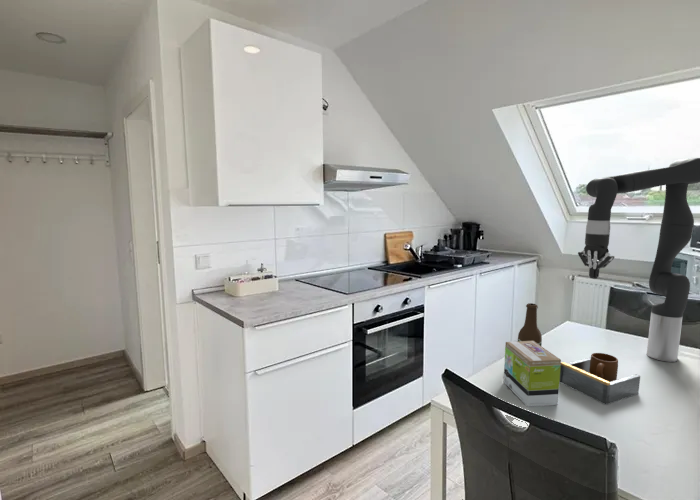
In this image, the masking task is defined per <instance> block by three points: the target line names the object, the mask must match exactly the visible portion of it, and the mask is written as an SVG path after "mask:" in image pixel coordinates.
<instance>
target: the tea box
mask: <svg viewBox="0 0 700 500" xmlns="http://www.w3.org/2000/svg"><path fill="white" fill-rule="evenodd" d="M504 347H505V348H504V369H503V383H504V384H505V385H506V387H508V388H509V389H510V390H511V392H513V393H514V394H515V395H516V397H518V398H519V400H520V401H521V402H522V403H523V404H524V406H526V407H547V406H549V407H550V406H558V403H559V392H560V391H559V390H560V382H559V381H560V368H561V362H562V360H561V359H560V358H559V357H558V356H556V355H554V354H553V353H552V352H551V351H549V350H547V349H546V348H545V347H543V346H542V345H541V346H540V345H539V344H537V343H536V342H534V341H518V340H517V341H505V346H504Z"/></svg>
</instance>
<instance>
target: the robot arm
mask: <svg viewBox="0 0 700 500" xmlns="http://www.w3.org/2000/svg"><path fill="white" fill-rule="evenodd" d="M699 183H700V157H690V158H682V159H676V160H675V161H672V162H671V163H670V164H669V166H666V167H660V168H654V169H653V168H651V169H644V170H636V171H632V172H626V173H622V174H618V175H613V176H605V177H598V178H594V179H591V180H590V181H589V182H588V183H587V184H586V188H585V191H586V193H587V195H589V196H590V197H592V198H595V201H594V203H593V204H591V205H589V207H588V212H587V220H586V221H587V222H586V227H585V238H584V245H585V246H584V248H583V250H581V251H578V253H577V255H578V256H579V258H580V260H581V262H582V263H583V265H584V266H585V267H588V269H589V271H588V272H589V273H588V276H589V278H590V279H594V280H596V279H598V278H599V276H600V269H604V268H606V267H607V266H608V265H609V264H610V263H611V262H612V261H613V260H614V259H615V255H611V254H610V253H609V245H610V237H611V236H610V235H611V216H612V215H611V213H612V208H613V206H614V204H615V200H616V199H617V195H618V194H627V193H633V192H639V191H643V190H648V189H652V188H657V187H663V186H665V198H664V204H663V212H662V217H661V221H660V222H661V224H660V230H659V237H658V243H657V249H656V254H655V258H654V261H653V263H652V264H653V265H652V268H651V271H650V275H649V281H648V287H649V289H650V291H651V292H652V293H653V294H655V295H660V296H663V297H665V299H664V302H662V303H654V304H653V305H652V306H651V310H650V311H651V312H650V318H649V319H650V321H649V329H648V338H647V346H646V356H648V357H649V358H652V359H655V360H658V361H662V362H668V363H674V362H677V361H678V357H679V349H680V342H681V341H680V340H681V332H682V324H683V317H684V312H685V310H686V309H687V305H688V300H689V296H690V295H689V294H690V289H691V284H690V283H691V282H690V279H689V277H687V276H686V275H684V274H681V273H677V272H672V267H673V263H674V260H675V259H676V257H677V256H678V255H679V253H680V252H681V251H683V249H684V248H685V247H686V246H687V245H688V244H689V242H690V241H691V239H692V237H693V231H694V226H695V225H694V224H695V219H694V215H693V212H692V209H691V208H690V206H689V203H688V196H687V195H688V188H689V185H693V184H699Z"/></svg>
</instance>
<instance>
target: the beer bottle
mask: <svg viewBox="0 0 700 500" xmlns="http://www.w3.org/2000/svg"><path fill="white" fill-rule="evenodd" d="M525 308H526V312H525V317H524V324H523V326H522V327H521V328H520V329H519V331H518V335H517V341H534V342H536V343H537V344H539V345H540V346H542V343H543V336H542V333H541V330H540V328H539V327H538V321H537V320H538V312H537V311H538V309H539V307H538V304H536V303H527V304H526V305H525Z"/></svg>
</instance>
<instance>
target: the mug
mask: <svg viewBox="0 0 700 500" xmlns="http://www.w3.org/2000/svg"><path fill="white" fill-rule="evenodd" d="M590 357H591V359H590V369H589V373H590V374H592V375H595V376H597V377H599V378H602V379H604V380H606V381H609V382H612V381H615V380H618V373H619V372H618V368H619V359H618V358H617V357H615V356H614V355H611V354H608V353H605V352H604V353H603V352H593V353H591V355H590Z"/></svg>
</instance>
